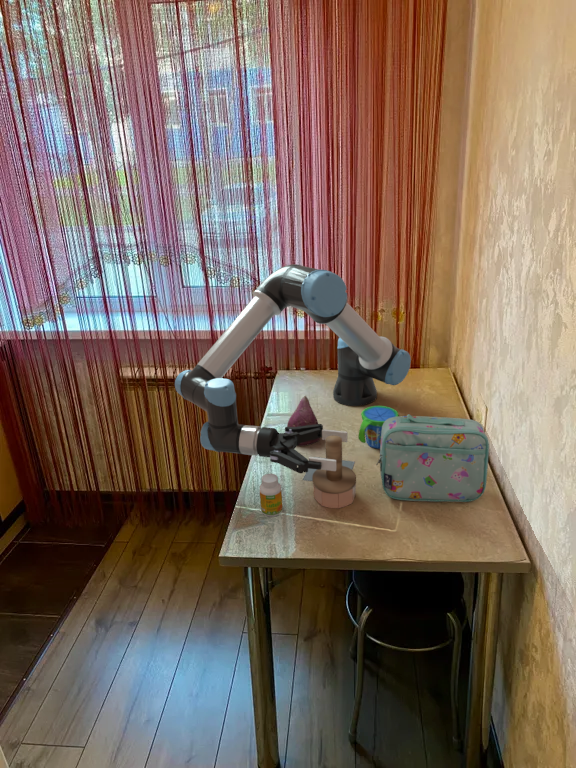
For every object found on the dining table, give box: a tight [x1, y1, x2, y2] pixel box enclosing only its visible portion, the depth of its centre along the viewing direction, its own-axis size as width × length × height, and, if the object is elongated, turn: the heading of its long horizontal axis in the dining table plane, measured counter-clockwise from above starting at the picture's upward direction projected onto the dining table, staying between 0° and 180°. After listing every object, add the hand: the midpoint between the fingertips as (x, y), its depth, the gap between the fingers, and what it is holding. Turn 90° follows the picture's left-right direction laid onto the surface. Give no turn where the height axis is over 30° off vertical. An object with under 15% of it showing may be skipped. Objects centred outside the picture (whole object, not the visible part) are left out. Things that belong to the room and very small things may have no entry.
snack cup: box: [358, 405, 400, 450], centre depth 164 cm, size 16×10×10 cm
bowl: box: [313, 483, 357, 509], centre depth 142 cm, size 10×10×5 cm
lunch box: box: [376, 413, 490, 503], centre depth 138 cm, size 27×10×21 cm, turn 82°
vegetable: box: [286, 395, 321, 447], centre depth 170 cm, size 10×10×15 cm
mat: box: [302, 456, 356, 482], centre depth 153 cm, size 12×12×1 cm
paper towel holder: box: [312, 436, 357, 494], centre depth 138 cm, size 11×11×12 cm
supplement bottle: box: [259, 472, 284, 518], centre depth 137 cm, size 5×5×10 cm
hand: (342, 450), depth 136 cm, fingers open, 13 cm apart
